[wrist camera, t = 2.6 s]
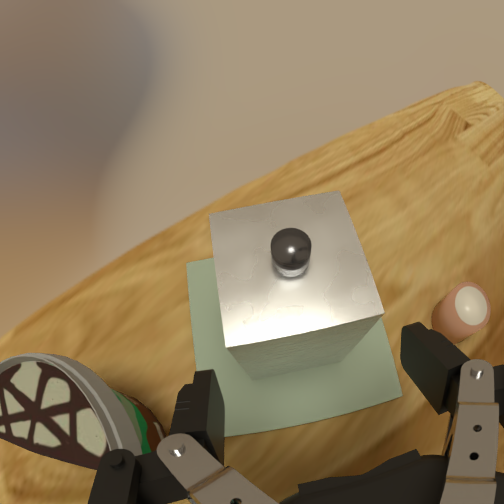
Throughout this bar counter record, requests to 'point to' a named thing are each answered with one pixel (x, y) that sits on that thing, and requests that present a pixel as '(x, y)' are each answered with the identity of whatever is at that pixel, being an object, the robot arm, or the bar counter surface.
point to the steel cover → (292, 284)
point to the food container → (70, 411)
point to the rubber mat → (291, 384)
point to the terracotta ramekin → (461, 312)
